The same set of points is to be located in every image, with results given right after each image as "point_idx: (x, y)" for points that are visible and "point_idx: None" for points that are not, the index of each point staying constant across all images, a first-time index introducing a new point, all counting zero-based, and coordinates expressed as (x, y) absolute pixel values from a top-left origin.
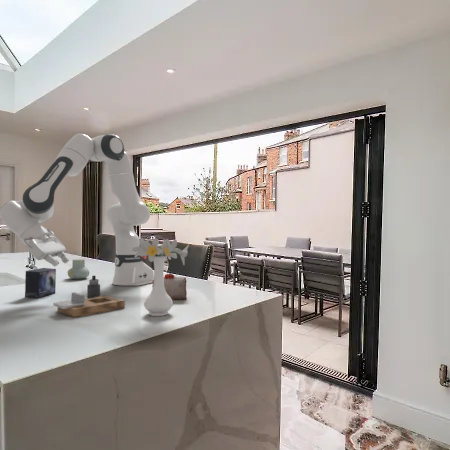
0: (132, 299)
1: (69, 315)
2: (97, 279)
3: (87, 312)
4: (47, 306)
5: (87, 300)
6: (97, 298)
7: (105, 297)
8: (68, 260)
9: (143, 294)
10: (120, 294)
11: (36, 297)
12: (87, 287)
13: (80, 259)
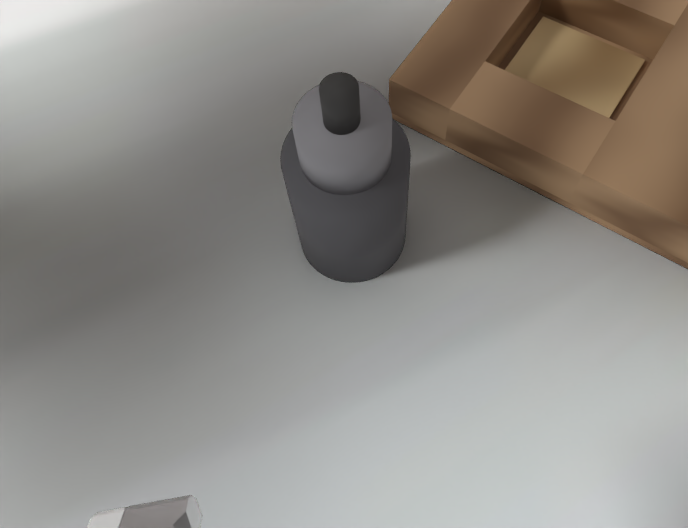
0: (253, 8)
1: None
2: (317, 93)
3: None
4: (678, 514)
5: (617, 121)
6: (520, 89)
7: (466, 55)
8: (139, 504)
9: (70, 6)
10: (73, 150)
11: None
12: (382, 212)
13: None
